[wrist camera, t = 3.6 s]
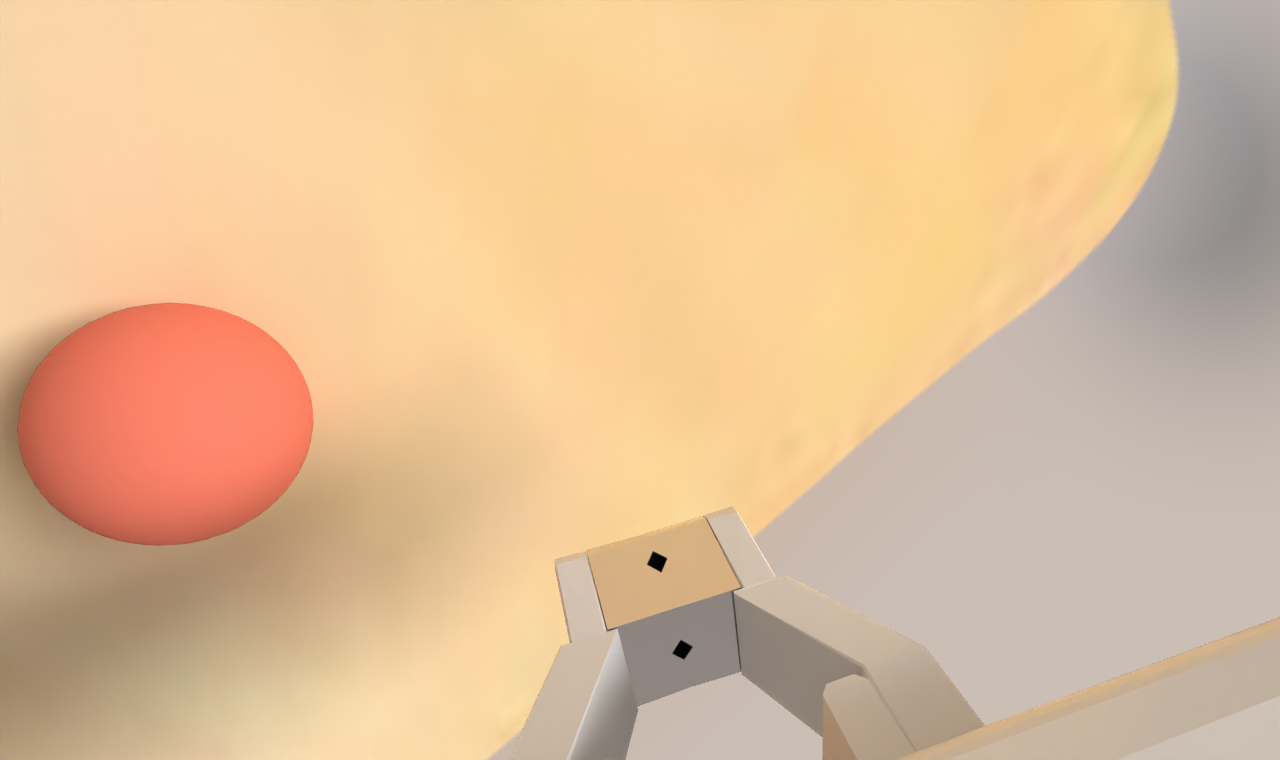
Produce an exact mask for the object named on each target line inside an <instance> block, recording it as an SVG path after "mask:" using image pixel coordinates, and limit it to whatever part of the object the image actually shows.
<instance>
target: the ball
mask: <svg viewBox="0 0 1280 760" xmlns="http://www.w3.org/2000/svg"><path fill="white" fill-rule="evenodd" d="M312 428H313V409H312V402H311V398H310V393H309V390H308V387H307V384H306V382H305V379H304V377H303V375H302V373H301V371H300V370H299V368H298V366H297V364H296V363H295V361H294V360H293V359H292V357H291V356H290V355H289V354H288V352H287V351H286V350H285V349H284V348H283V347H282V346H281V345H280V344H279V343H278V342H277V341H276V340H275V339H273V338H272V337H271V336H269V335H268V334H267V333H266V332H264V331H263V330H261V329H260V328H258V327H257V326H255V325H253V324H252V323H250V322H248V321H246V320H244V319H242V318H240V317H238V316H235V315H232V314H230V313H227V312H224V311H221V310H217V309H213V308H209V307H205V306H199V305H192V304H181V303H162V304H150V305H144V306H138V307H132V308H127V309H124V310H120V311H117V312H114V313H111V314H109V315H106V316H104V317H102V318H99V319H97V320H95V321H92V322H90V323H88V324H86V325H85V326H83V327H81V328H80V329H78V330H77V331H75V332H74V333H72V334H71V335H69V336H68V337H67V338H65V339H64V340H63V341H62V342H61V343H59V344H58V345H57V346H56V347H55V348H54V349H53V350H52V351H51V352H50V353H49V355H48V356H47V357H46V358H45V359H44V361H43V362H42V363H41V364H40V365H39V367H38V368H37V369H36V371H35V373H34V374H33V376H32V378H31V380H30V382H29V384H28V386H27V388H26V390H25V393H24V396H23V399H22V402H21V406H20V412H19V421H18V437H19V445H20V451H21V455H22V458H23V462H24V465H25V467H26V469H27V471H28V473H29V475H30V477H31V479H32V480H33V482H34V484H35V485H36V487H37V488H38V490H39V491H40V492H41V494H42V495H43V496H44V497H45V498H46V499H47V500H48V502H49V503H50V504H51V505H52V506H54V507H55V508H56V509H57V510H58V511H60V512H61V513H62V514H63V515H65V516H66V517H67V518H69V519H71V520H72V521H74V522H75V523H77V524H78V525H80V526H82V527H84V528H86V529H88V530H90V531H92V532H95V533H97V534H100V535H102V536H105V537H108V538H112V539H115V540H119V541H124V542H128V543H135V544H143V545H176V544H185V543H192V542H197V541H201V540H206V539H209V538H212V537H215V536H218V535H221V534H224V533H227V532H229V531H231V530H233V529H236V528H238V527H240V526H242V525H243V524H245V523H247V522H248V521H250V520H252V519H253V518H255V517H257V516H258V515H260V514H261V513H262V512H264V511H265V510H266V509H267V508H269V507H270V506H271V505H272V504H273V503H274V502H275V501H276V500H277V499H278V498H279V497H280V496H281V495H282V494H283V493H284V492H285V491H286V490H287V488H288V487H289V486H290V484H291V483H292V481H293V480H294V479H295V477H296V476H297V474H298V473H299V471H300V469H301V467H302V465H303V463H304V460H305V458H306V455H307V453H308V449H309V446H310V443H311V436H312Z"/></svg>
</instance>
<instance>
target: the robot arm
mask: <svg viewBox="0 0 1280 760" xmlns="http://www.w3.org/2000/svg"><path fill="white" fill-rule="evenodd" d="M586 551H587V554H586ZM586 551H585V552H581V553H577V554H573V555H570V556H566V557H562V558H558V559H555V571H556V576H557V581H558V586H559V591H560V596H561V601H562V606H563V611H564V616H565V621H566V626H567V631H568V636H569V641H570V643H569V644H566V645H564V646H561V647H560V649H559V651H558V654H557V656H556V658H555V660H554V662H553V664H552V667H551V669H550V671H549V673H548V675H547V678H546V680H545V682H544V684H543V686H542V689H541V691H540V693H539V695H538V697H537V700H536V702H535V704H534V706H533V708H532V711H531V713H530V715H529V717H528V719H527V721H526V724H525V726H524V728H523V730H522V732H521V735H520V737H519V739H518V741H517V743H516V746H515V748H514V750H513V752H512V754H511V757H510V759H509V760H625V759H626V755H627V751H628V747H629V743H630V739H631V735H632V732H633V728H634V724H635V719H636V716H637V712H638V708H637V706H640V705H643V704H645V703H648V702H651V701H654V700H656V699H659V698H662V697H665V696H667V695H670V694H673V693H675V692H678V691H681V690H684V689H686V688H689V687H692V686H696V685H699V684H702V683H705V682H709V681H712V680H715V679H719V678H722V677H725V676H728V675H731V674H735V673H738V672H741V671H742V675H743V676H745V677H746V678H747V679H749V680H750V681H751V682H752V683H754V684H755V685H757V686H758V687H759V688H760V689H761V690H763V691H764V692H765V693H767V694H768V695H769V696H770V697H772V698H773V699H774V700H776V701H777V702H778V703H779V704H781V705H782V706H783V707H784V708H786V709H787V710H788V711H790V712H791V713H792V714H793V715H795V716H796V717H797V718H799V719H800V720H801V721H802V722H804V723H805V724H806V725H808V726H809V727H810V728H811V729H813V730H814V731H815V732H817V733H818V734H819V735H820V736H822V737H823V760H1280V617H1278V618H1276V619H1273V620H1270V621H1267V622H1265V623H1262V624H1259V625H1257V626H1254V627H1251V628H1249V629H1246V630H1243V631H1240V632H1238V633H1235V634H1232V635H1230V636H1227V637H1224V638H1221V639H1219V640H1216V641H1213V642H1211V643H1208V644H1205V645H1203V646H1200V647H1197V648H1194V649H1192V650H1189V651H1186V652H1184V653H1181V654H1178V655H1176V656H1173V657H1170V658H1167V659H1165V660H1162V661H1160V662H1157V663H1154V664H1151V665H1149V666H1146V667H1143V668H1141V669H1138V670H1135V671H1133V672H1130V673H1127V674H1124V675H1122V676H1119V677H1116V678H1113V679H1111V680H1108V681H1106V682H1103V683H1100V684H1097V685H1095V686H1092V687H1089V688H1086V689H1084V690H1081V691H1078V692H1076V693H1073V694H1070V695H1068V696H1065V697H1062V698H1060V699H1057V700H1054V701H1051V702H1049V703H1046V704H1043V705H1040V706H1038V707H1035V708H1032V709H1030V710H1027V711H1025V712H1022V713H1019V714H1017V715H1013V716H1011V717H1008V718H1005V719H1003V720H1000V721H997V722H995V723H992V724H989V725H987V726H985V725H984V724H983V722H982V721H981V720H980V718H979V717H978V716H977V714H976V713H975V712H974V710H973V709H972V708H971V707H970V705H969V704H968V703H967V701H966V700H965V698H964V697H963V696H962V694H961V693H960V692H959V690H958V689H957V688H956V687H955V685H954V684H953V683H952V681H951V680H950V679H949V677H948V676H947V675H946V673H945V672H944V671H943V669H942V668H941V667H940V665H939V664H938V663H937V661H936V660H935V659H934V657H933V656H932V655H931V653H930V652H929V651H928V649H927V648H926V647H925V646H923V645H920V644H919V643H917V642H915V641H913V640H911V639H909V638H907V637H905V636H903V635H901V634H899V633H897V632H895V631H893V630H891V629H889V628H887V627H886V626H884V625H881V624H880V623H877V622H876V621H874V620H872V619H870V618H868V617H866V616H864V615H862V614H860V613H858V612H856V611H854V610H852V609H850V608H848V607H846V606H844V605H843V604H841V603H839V602H837V601H835V600H833V599H831V598H829V597H827V596H825V595H823V594H821V593H819V592H817V591H815V590H813V589H811V588H810V587H808V586H806V585H804V584H802V583H800V582H798V581H796V580H794V579H792V578H790V577H788V576H786V575H784V576H781V577H776V576H775V574H774V572H773V571H772V569H771V567H770V566H769V564H768V562H767V561H766V559H765V557H764V556H763V554H762V552H761V550H760V549H759V547H758V545H757V544H756V542H755V540H754V539H753V537H752V535H751V533H750V532H749V530H748V528H747V527H746V525H745V523H744V522H743V520H742V518H741V517H740V515H739V513H738V511H737V510H736V509H734V508H733V507H730V508H726V509H723V510H720V511H717V512H714V513H710V514H707V515H704V516H703V517H698V518H695V519H691V520H688V521H685V522H682V523H678V524H675V525H672V526H669V527H665V528H662V529H659V530H656V531H652V532H649V533H646V534H644V535H640V536H637V537H633V538H629V539H626V540H622V541H618V542H615V543H611V544H607V545H604V546H600V547H596V548H593V549H589V550H586ZM587 556H588V558H587ZM588 560H589V562H588ZM589 564H590V565H589ZM590 568H591V569H590ZM591 571H592V573H591ZM592 575H593V576H592ZM593 579H594V580H593ZM594 583H595V584H594ZM596 590H597V591H596ZM597 594H598V595H597Z"/></svg>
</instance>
